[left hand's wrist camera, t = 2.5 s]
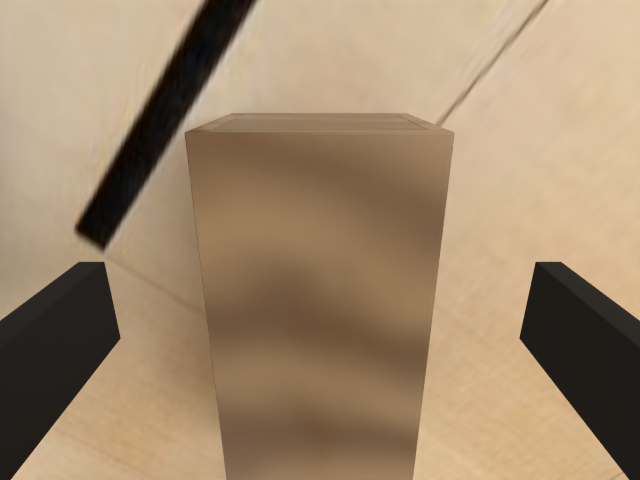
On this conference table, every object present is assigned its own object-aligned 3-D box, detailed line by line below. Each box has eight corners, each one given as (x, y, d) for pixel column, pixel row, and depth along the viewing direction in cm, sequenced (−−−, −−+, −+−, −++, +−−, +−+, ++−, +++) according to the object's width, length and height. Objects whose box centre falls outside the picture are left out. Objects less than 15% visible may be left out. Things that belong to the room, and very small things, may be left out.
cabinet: (387, 373, 33) (412, 481, 24) (251, 373, 33) (226, 481, 24) (407, 113, 26) (455, 132, 17) (231, 113, 26) (184, 132, 17)
